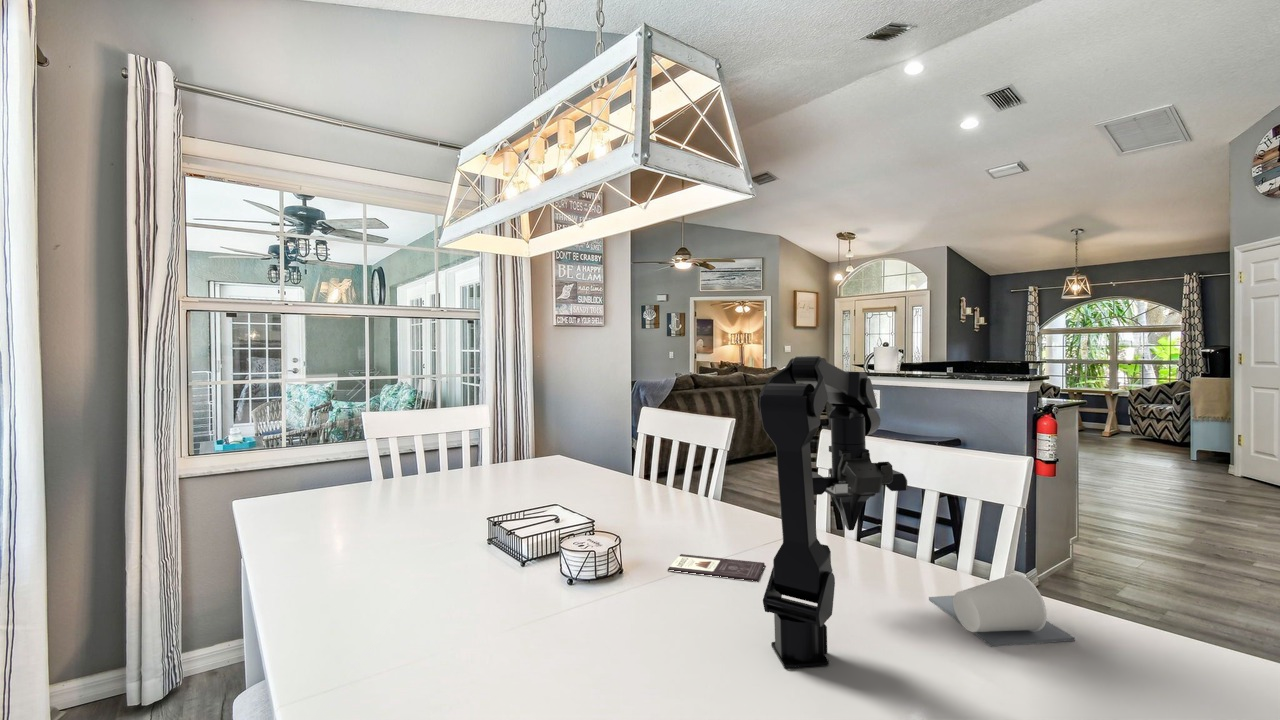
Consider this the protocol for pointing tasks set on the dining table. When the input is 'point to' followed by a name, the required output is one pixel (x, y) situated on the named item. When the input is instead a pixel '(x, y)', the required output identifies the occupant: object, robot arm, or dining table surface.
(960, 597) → the dixie cup
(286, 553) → the dining table surface
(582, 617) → the dining table surface
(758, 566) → the chocolate bar
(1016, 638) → the mat
